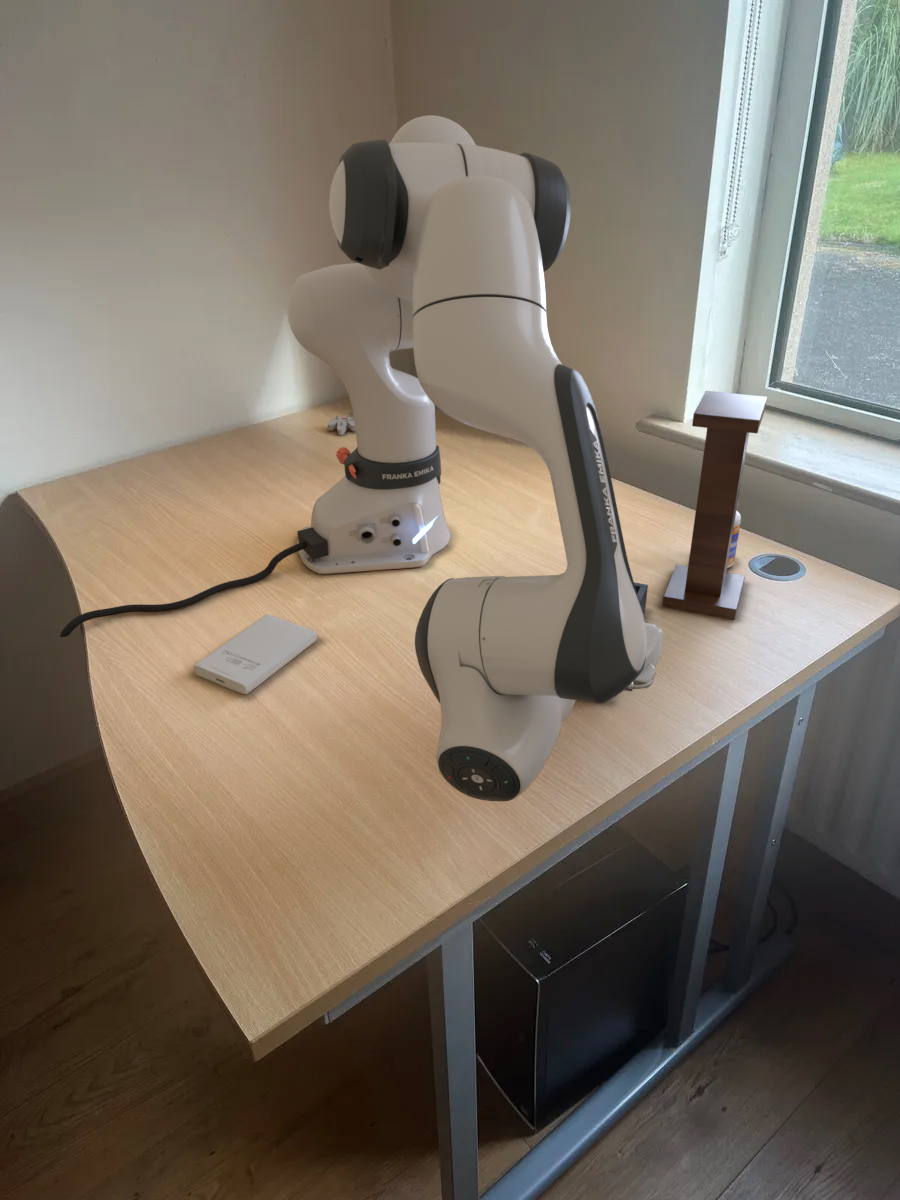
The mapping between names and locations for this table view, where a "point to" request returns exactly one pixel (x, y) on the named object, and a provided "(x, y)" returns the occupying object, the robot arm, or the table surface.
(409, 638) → the table surface
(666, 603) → the stand
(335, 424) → the game controller
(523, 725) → the robot arm
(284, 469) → the table surface
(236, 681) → the hard drive
